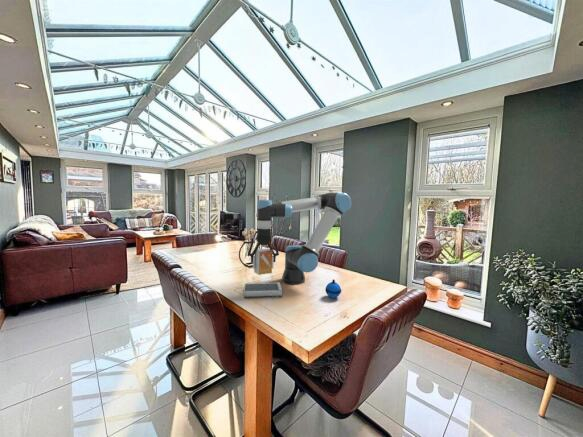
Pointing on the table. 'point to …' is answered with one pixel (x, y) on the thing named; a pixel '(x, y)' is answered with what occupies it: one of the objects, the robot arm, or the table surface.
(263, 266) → the small box
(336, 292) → the ornament
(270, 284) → the grey rectangular tray
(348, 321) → the table surface
